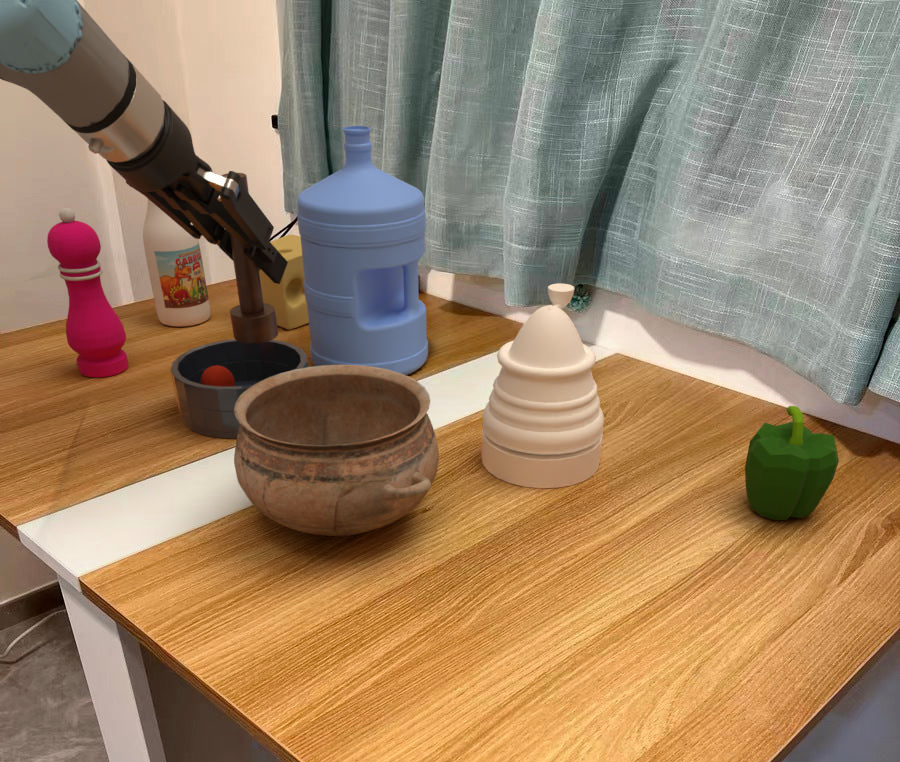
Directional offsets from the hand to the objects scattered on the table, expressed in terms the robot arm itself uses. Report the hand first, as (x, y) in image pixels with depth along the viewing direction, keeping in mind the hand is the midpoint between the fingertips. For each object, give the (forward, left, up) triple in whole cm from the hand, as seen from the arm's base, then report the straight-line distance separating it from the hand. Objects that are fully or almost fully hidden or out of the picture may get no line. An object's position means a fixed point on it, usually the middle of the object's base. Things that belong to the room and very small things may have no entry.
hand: (269, 270), depth 101 cm
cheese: (+1, +30, -16) cm, 34 cm away
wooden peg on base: (-2, -3, -6) cm, 7 cm away
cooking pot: (+5, -30, -16) cm, 34 cm away
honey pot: (+27, -21, -16) cm, 38 cm away
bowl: (-5, -3, -15) cm, 16 cm away
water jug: (+11, +10, -16) cm, 22 cm away
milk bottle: (-15, +31, -16) cm, 38 cm away
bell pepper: (+48, -35, -16) cm, 62 cm away
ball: (-8, -1, -13) cm, 15 cm away
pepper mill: (-24, +13, -16) cm, 31 cm away
